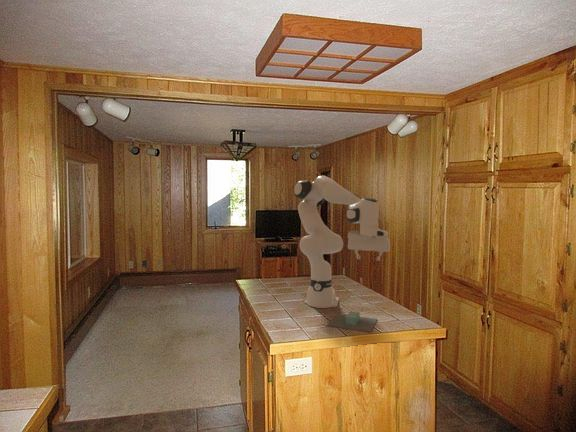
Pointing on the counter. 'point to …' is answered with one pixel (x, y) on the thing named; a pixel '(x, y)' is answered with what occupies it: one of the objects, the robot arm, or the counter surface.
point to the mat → (361, 325)
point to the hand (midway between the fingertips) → (368, 259)
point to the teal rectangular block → (352, 318)
